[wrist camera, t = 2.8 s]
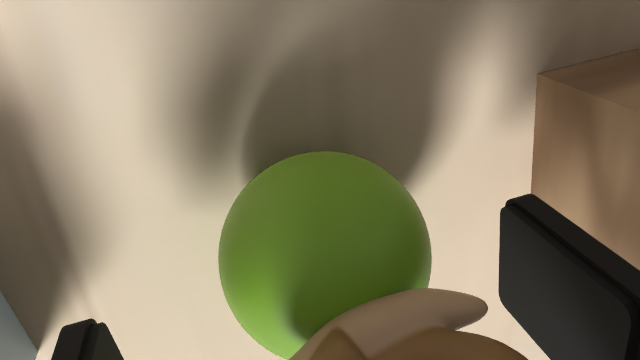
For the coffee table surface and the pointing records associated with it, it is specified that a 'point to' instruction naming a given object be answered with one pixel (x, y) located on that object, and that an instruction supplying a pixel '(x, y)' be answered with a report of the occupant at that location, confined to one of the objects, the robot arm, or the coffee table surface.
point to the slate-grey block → (13, 336)
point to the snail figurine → (341, 268)
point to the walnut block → (592, 148)
